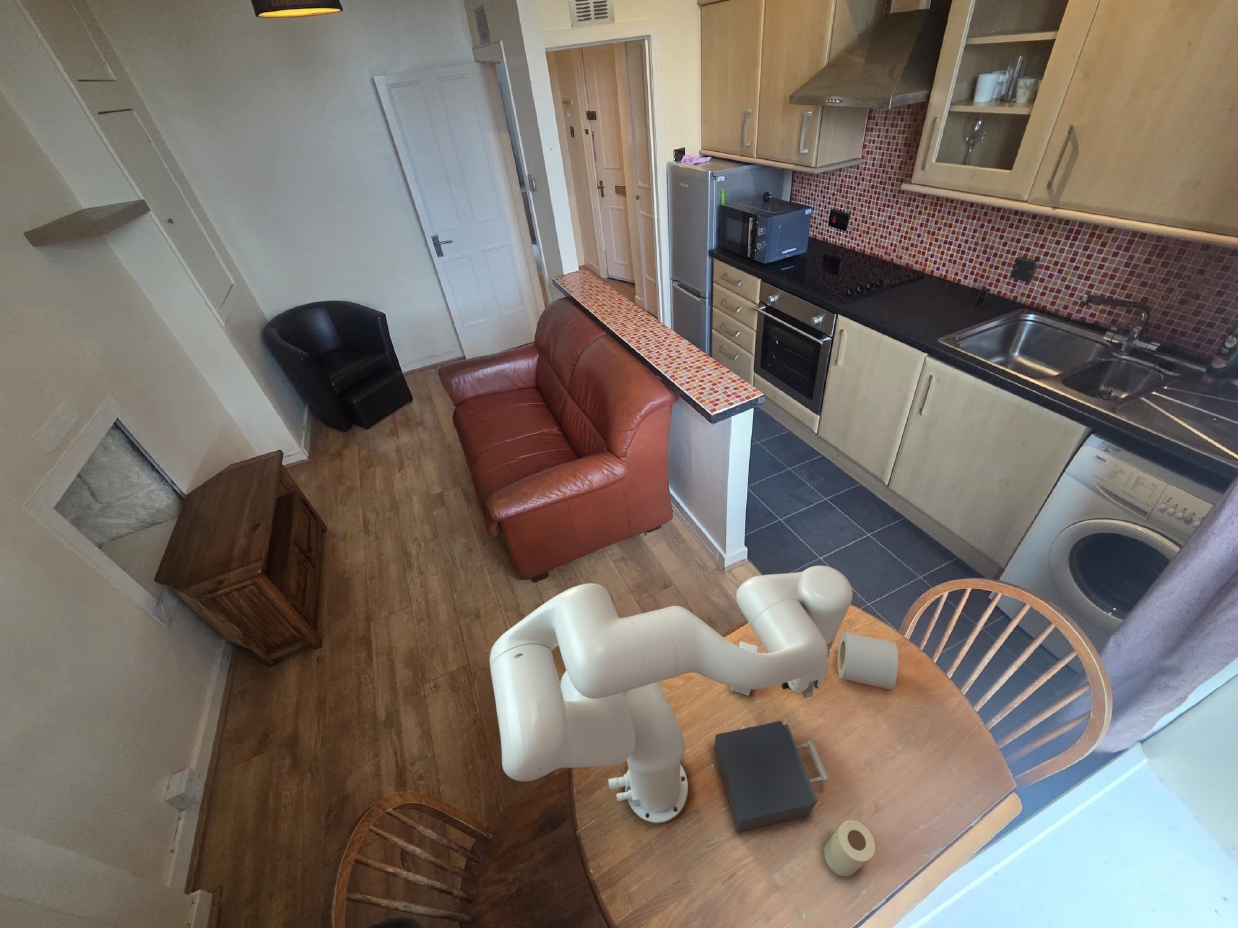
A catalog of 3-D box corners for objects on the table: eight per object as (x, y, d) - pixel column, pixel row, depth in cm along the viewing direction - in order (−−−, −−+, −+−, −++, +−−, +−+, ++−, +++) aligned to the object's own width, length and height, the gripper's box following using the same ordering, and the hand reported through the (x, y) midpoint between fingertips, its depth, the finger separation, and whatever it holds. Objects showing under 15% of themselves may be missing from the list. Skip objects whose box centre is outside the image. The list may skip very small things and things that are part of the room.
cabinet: (775, 736, 108) (781, 720, 102) (806, 817, 97) (814, 803, 91) (713, 749, 107) (715, 734, 101) (736, 832, 96) (740, 820, 90)
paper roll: (833, 879, 90) (848, 864, 81) (818, 841, 94) (832, 823, 85) (863, 872, 90) (882, 856, 82) (847, 834, 94) (864, 816, 86)
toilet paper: (838, 685, 114) (847, 664, 107) (837, 645, 121) (846, 623, 114) (886, 697, 112) (900, 676, 105) (883, 655, 118) (895, 633, 112)
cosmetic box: (749, 696, 114) (755, 671, 106) (730, 690, 115) (734, 665, 107) (754, 671, 118) (759, 645, 110) (735, 666, 119) (739, 640, 111)
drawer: (802, 732, 107) (808, 719, 102) (833, 805, 97) (840, 795, 92) (725, 749, 106) (727, 736, 101) (748, 825, 96) (751, 815, 91)
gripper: (768, 592, 84) (754, 648, 96) (805, 680, 73) (785, 730, 85) (812, 585, 85) (793, 642, 97) (855, 671, 73) (828, 723, 86)
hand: (789, 683), depth 91 cm, fingers closed
